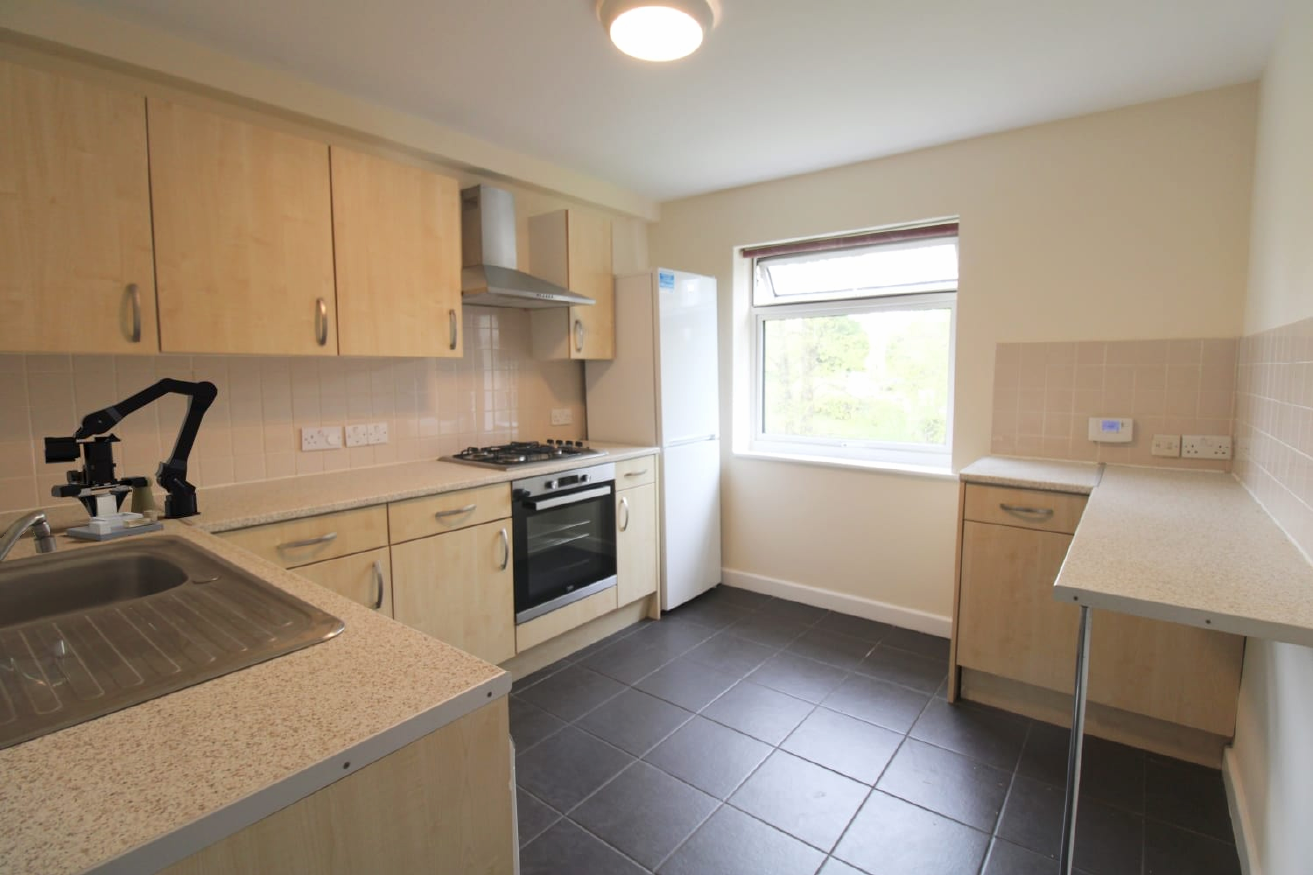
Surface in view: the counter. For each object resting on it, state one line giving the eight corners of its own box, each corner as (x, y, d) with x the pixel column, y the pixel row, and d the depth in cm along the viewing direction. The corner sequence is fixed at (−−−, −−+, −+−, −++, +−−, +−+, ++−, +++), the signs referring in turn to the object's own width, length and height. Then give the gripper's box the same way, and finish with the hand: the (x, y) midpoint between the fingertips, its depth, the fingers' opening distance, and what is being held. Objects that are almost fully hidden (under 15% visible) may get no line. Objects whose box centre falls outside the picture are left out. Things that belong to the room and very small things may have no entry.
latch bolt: (151, 521, 162) (150, 510, 162) (157, 522, 161) (156, 510, 161) (123, 526, 157) (122, 514, 157) (129, 527, 156) (128, 515, 155)
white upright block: (110, 523, 170) (107, 492, 169) (118, 525, 168) (115, 493, 167) (92, 526, 166) (89, 494, 166) (99, 528, 164) (96, 495, 164)
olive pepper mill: (148, 511, 187) (144, 475, 186) (162, 512, 185) (159, 475, 184) (125, 515, 181) (121, 478, 180) (140, 516, 179) (136, 478, 178)
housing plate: (128, 524, 169) (127, 509, 168) (163, 529, 161) (162, 514, 161) (66, 534, 157) (65, 519, 157) (101, 541, 149) (99, 524, 149)
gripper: (125, 455, 178) (130, 509, 179) (38, 463, 161) (44, 523, 162) (146, 456, 173) (151, 512, 174) (59, 464, 156) (65, 526, 157)
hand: (104, 518), depth 167 cm, fingers closed on white upright block, 4 cm apart
